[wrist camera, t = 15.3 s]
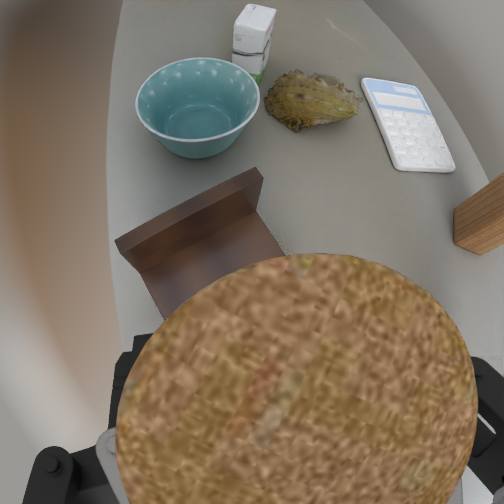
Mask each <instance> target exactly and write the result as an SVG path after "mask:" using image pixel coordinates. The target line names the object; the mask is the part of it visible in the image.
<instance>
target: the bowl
mask: <svg viewBox="0 0 504 504" xmlns="http://www.w3.org/2000/svg"><path fill="white" fill-rule="evenodd" d="M259 102H260V92H259V88H258V85H257V83H256V82H255V80H254V79H253V77H252V76H251V75H250V74H249V73H247V72H246V71H245V70H244V69H242V68H241V67H239V66H237V65H235V64H233V63H231V62H228V61H225V60H221V59H216V58H206V57H198V58H188V59H183V60H179V61H176V62H173V63H170V64H168V65H166V66H164V67H162V68H160V69H158V70H157V71H155V72H154V73H152V74H151V75H150V76H149V77H148V78H147V79H146V80H145V81H144V83H143V84H142V86H141V87H140V89H139V91H138V93H137V97H136V102H135V108H136V113H137V116H138V118H139V120H140V121H141V123H142V124H143V125H144V126H145V127H146V128H147V130H148V131H149V132H150V133H151V134H152V135H153V136H154V137H155V138H156V139H157V140H158V141H159V142H161V143H162V144H163V145H164V146H165V147H166V148H167V149H168V150H170V151H171V152H173V153H174V154H177V155H179V156H182V157H186V158H206V157H210V156H214V155H216V154H219V153H220V152H222V151H224V150H225V149H227V148H228V147H229V146H230V145H231V144H232V143H233V142H234V141H235V139H236V138H237V137H238V136H239V135H240V133H241V132H242V131H243V130H244V128H245V127H246V126H247V124H248V123H249V122H250V120H251V119H252V118H253V116H254V115H255V113H256V111H257V109H258V106H259Z"/></svg>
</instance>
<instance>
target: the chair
mask: <svg viewBox="0 0 504 504" xmlns="http://www.w3.org/2000/svg"><path fill="white" fill-rule="evenodd" d="M263 179H264V178H263V176H262V175H261V174H260V172H259V171H258V170H257V168H256V167H254V168H252V169H250V170H248V171H246V172H244V173H242V174H240V175H237V176H235V177H233V178H231V179H229V180H227V181H225V182H223V183H221V184H219V185H217V186H215V187H213V188H211V189H209V190H207V191H205V192H203V193H201V194H199V195H197V196H195V197H193V198H191V199H189V200H187V201H185V202H183V203H182V204H180V205H178V206H176V207H174V208H172V209H170V210H168V211H166V212H165V213H163V214H161V215H159V216H157V217H155V218H153V219H152V220H150V221H148V222H146V223H144V224H142V225H141V226H139V227H137V228H135V229H133V230H132V231H130V232H128V233H126V234H125V235H123V236H121V237H119V238H118V239H116V240H115V243H116V245H117V248H118V250H119V252H120V254H121V255H122V256H123V257H124V258H125V259H126V260H127V261H128V262H129V263H130V264H131V265H132V266H133V267H134V268H135V269H136V270H137V271H138V272H139V273H140V275H141V277H142V279H143V281H144V283H145V285H146V286H147V288H148V290H149V292H150V294H151V296H152V298H153V300H154V302H155V304H156V306H157V307H158V309H159V311H160V313H161V315H162V317H163V318H164V320H166V319H167V317H168V316H169V315H170V314H172V313H173V312H174V311H175V310H176V309H177V308H178V307H179V306H180V305H181V304H182V303H184V302H185V301H186V300H188V299H189V298H190V297H192V296H193V295H194V294H196V293H197V292H198V291H199V290H201V289H203V288H204V287H206V286H208V285H209V284H211V283H213V282H215V281H216V280H218V279H220V278H221V277H224V276H226V275H228V274H230V273H232V272H235V271H237V270H239V269H241V268H244V267H246V266H248V265H250V264H253V263H257V262H261V261H264V260H268V259H272V258H277V257H282V256H285V254H284V253H283V251H282V250H281V248H280V247H279V245H278V244H277V242H276V240H275V239H274V237H273V236H272V234H271V233H270V231H269V230H268V228H267V227H266V225H265V224H264V222H263V221H262V219H261V218H260V216H259V215H258V213H257V212H256V208H257V204H258V199H259V195H260V191H261V187H262V183H263Z"/></svg>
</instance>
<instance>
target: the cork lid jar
mask: <svg viewBox="0 0 504 504" xmlns="http://www.w3.org/2000/svg"><path fill="white" fill-rule="evenodd" d="M477 414H478V395H477V387H476V380H475V374H474V368H473V364H472V361H471V358H470V355H469V352H468V350H467V347H466V344H465V342H464V340H463V338H462V336H461V334H460V332H459V330H458V328H457V326H456V325H455V324H454V322H453V321H452V319H451V318H450V317H449V315H448V314H447V312H446V311H445V310H444V308H443V307H442V306H441V305H440V304H439V303H438V302H437V301H436V300H435V299H434V298H433V297H432V296H431V295H430V294H429V293H428V292H427V291H426V290H424V289H423V288H422V287H420V286H419V285H417V284H416V283H414V282H413V281H411V280H410V279H408V278H407V277H405V276H404V275H402V274H401V273H399V272H397V271H395V270H393V269H391V268H388V267H386V266H384V265H381V264H379V263H376V262H372V261H369V260H365V259H361V258H358V257H354V256H349V255H337V254H325V253H310V254H296V255H289V256H282V257H277V258H272V259H268V260H264V261H261V262H257V263H253V264H250V265H248V266H246V267H244V268H241V269H239V270H237V271H235V272H232V273H230V274H228V275H226V276H224V277H221V278H220V279H218V280H216V281H215V282H213V283H211V284H209V285H208V286H206V287H204V288H203V289H201V290H199V291H198V292H197V293H196V294H194V295H193V296H192V297H190V298H189V299H188V300H186V301H185V302H184V303H182V304H181V305H180V306H179V307H178V308H177V309H176V310H175V311H174V312H173V313H172V314H170V315H169V316H168V317H167V319H166V320H165V321H164V322H163V323H162V324H161V326H160V327H159V328H158V329H157V330H156V331H155V333H154V334H153V335H152V336H151V337H150V339H149V340H148V341H147V342H146V344H145V346H144V347H143V349H142V351H141V353H140V354H139V356H138V358H137V359H136V361H135V363H134V365H133V366H132V369H131V371H130V373H129V375H128V377H127V380H126V382H125V385H124V388H123V392H122V395H121V399H120V402H119V406H118V413H117V421H116V430H115V449H116V461H117V466H118V470H119V475H120V479H121V482H122V485H123V487H124V490H125V493H126V495H127V498H128V501H129V503H130V504H446V503H447V502H448V500H449V499H450V498H451V496H452V495H453V493H454V491H455V489H456V487H457V485H458V483H459V481H460V479H461V477H462V475H463V472H464V470H465V468H466V466H467V463H468V461H469V457H470V454H471V451H472V447H473V443H474V438H475V434H476V426H477Z"/></svg>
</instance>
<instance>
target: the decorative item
mask: <svg viewBox="0 0 504 504" xmlns="http://www.w3.org/2000/svg"><path fill="white" fill-rule="evenodd" d="M454 243H455V244H456V245H458V246H460V247H462V248H465V249H467V250H469V251H472V252H474V253H476V254H478V255H482V254H484V253H486V252H489V251H491V250H493V249H495V248H497V247H499V246H501V245H503V244H504V173H502V174H500V175H499V176H498V177H497V178H495V179H494V180H493V181H491V182H490V183H489V184H488V185H486V186H485V187H484V188H482V189H481V190H480V191H478V192H477V193H476V194H474V195H473V196H472V197H470V198H469V199H467V200H466V201H465V202H463V203H462V204H461V205H459V206H458V207H457V208H455V210H454Z"/></svg>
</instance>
